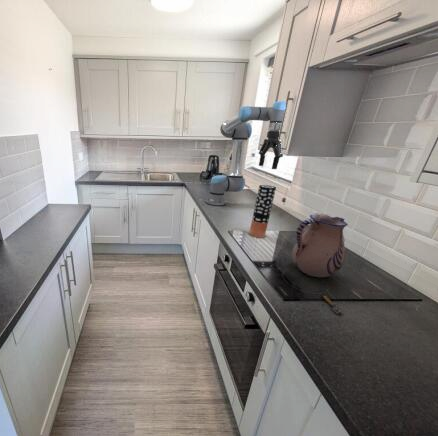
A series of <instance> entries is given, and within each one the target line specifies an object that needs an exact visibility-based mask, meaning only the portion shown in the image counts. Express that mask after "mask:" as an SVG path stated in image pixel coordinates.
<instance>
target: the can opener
mask: <svg viewBox="0 0 438 436" xmlns="http://www.w3.org/2000/svg"><path fill="white" fill-rule="evenodd" d="M322 298H323V300H325V302H327V303H328V304H329V305H330V306H331V307H332V311H333V313H336V314H337V315H340V314H342V311H341V309H340V308H339V307H338V306H336V305H335V304H334V303H333V302H332V301H331V300H330V298H329V297H328V296H327V295H325V294H322Z"/></svg>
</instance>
